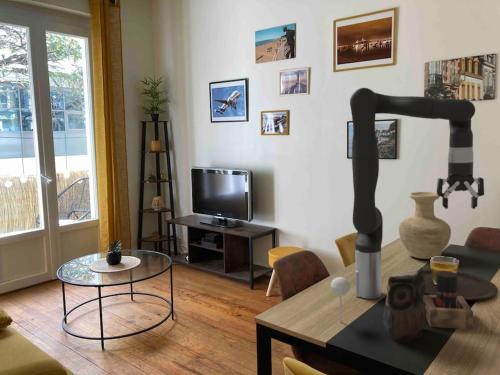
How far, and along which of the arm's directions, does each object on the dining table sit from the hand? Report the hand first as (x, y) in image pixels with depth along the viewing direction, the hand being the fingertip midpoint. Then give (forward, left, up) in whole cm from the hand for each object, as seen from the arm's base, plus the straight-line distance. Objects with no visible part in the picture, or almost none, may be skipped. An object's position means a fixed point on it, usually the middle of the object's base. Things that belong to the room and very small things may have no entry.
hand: (459, 208), depth 141 cm
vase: (-2, +51, -33) cm, 61 cm away
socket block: (-7, -15, -33) cm, 37 cm away
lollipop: (-40, -21, -33) cm, 56 cm away
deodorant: (-7, -15, -33) cm, 37 cm away
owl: (-22, -25, -33) cm, 47 cm away
